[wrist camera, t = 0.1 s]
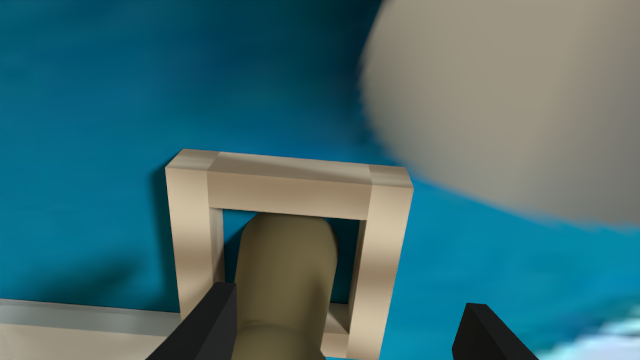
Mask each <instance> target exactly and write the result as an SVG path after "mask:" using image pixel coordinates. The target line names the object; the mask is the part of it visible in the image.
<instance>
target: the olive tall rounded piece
mask: <svg viewBox="0 0 640 360" xmlns="http://www.w3.org/2000/svg"><path fill="white" fill-rule="evenodd" d="M338 256H339V244H338V238H337V236H336V234H335V232H334V230H333V228H332V226H331V225H330V224H329V223H328V222H327V221H325V220H324V219H323V218H322V217H321V216H309V215H297V214H285V213H273V212H260V213H258V214H257V215H256V216H255V217H253V218H252V219H251V220H250V221H249V222H248V223H247V225H246V227H245V229H244V230H243V232H242V235H241V241H240V248H239V255H238V262H237V268H236V275H235V282H234V283H237V335H236V340H235V344H234V349H233V353H232V358H231V360H326V358H325V357H324V355H323V353H322V352H321V350H320V349H321V343H322V338H323V333H324V328H325V323H326V318H327V312H328V307H329V302H330V297H331V292H332V287H333V281H334V276H335V271H336V266H337V261H338Z"/></svg>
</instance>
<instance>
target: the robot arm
mask: <svg viewBox="0 0 640 360" xmlns="http://www.w3.org/2000/svg"><path fill="white" fill-rule="evenodd" d="M236 335H237V283H227V282H216V283H215V284H213V286H212V287H211V288H210V289H209V291H208V292H207V293H206V294H205V296H204V297H203V298H202V299H201V301H200V302H199V303H198V304H197V305H196V307H195V308H194V309H193V310H192V311H191V312H190V314H189V315H188V316H187V317H186V318H185V319H184V320H183V321H182V322H181V323H180V325H179V326H178V327H177V328H176V329H175V330H174V331H173V332H172V333H171V334H170V335H169V336H168V337H167V338H166V339H165V340H164V341H163V342H162V343H161V344H160V345H159V346H158V347H157V348H156V349H155V350H154V351H153V352H152V353H151V354H150V355H149V356H148V357H147V358H146V359H145V360H231V358H232V353H233V349H234V344H235V340H236ZM452 353H453V359H454V360H539V359H538V358H537V357H536V356H535V355H534V354H533V353H532V352H531V351H530V350H529V349H528V348H527V347H526V346H525V345H524V344H523V343H522V342H521V341H520V340H519V338H518V337H517V336H516V335H515V334H514V333H513V332H512V331H511V330H510V329H509V328H508V327H507V326H506V325H505V324H504V322H503V321H502V320H501V319H500V318H499V317H498V316H497V315H496V314H495V313H494V312H493V311H492V310H491V309H490V308H489V307H488V306H487V305H486V304H476V303H466V307H465V310H464V313H463V316H462V319H461V322H460V325H459V328H458V331H457V334H456V337H455V340H454V343H453V347H452Z"/></svg>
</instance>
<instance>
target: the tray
mask: <svg viewBox="0 0 640 360" xmlns="http://www.w3.org/2000/svg"><path fill="white" fill-rule="evenodd" d="M180 323H181V313H172V312H159V311H147V310H135V309H122V308H110V307H98V306H86V305H73V304H61V303H49V302H37V301H24V300H12V299H0V360H145V359H146V358H147V357H148V356H149V355H150V354H151V353H152V352H153V351H154V350H155V349H156V348H157V347H158V346H159V345H160V344H161V343H162V342H163V341H164V340H165V339H166V338H167V337H168V336H169V335H170V334H171V333H172V332H173V331H174V330H175V329H176V328H177V327H178V326H179V325H180Z"/></svg>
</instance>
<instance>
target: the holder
mask: <svg viewBox="0 0 640 360" xmlns="http://www.w3.org/2000/svg"><path fill="white" fill-rule="evenodd" d="M165 172H166V181H167V191H168V200H169V209H170V219H171V228H172V237H173V247H174V256H175V265H176V275H177V284H178V294H179V303H180V312H181V322H182V321H183V320H184V319H185V318H186V317H187V316H188V315H189V314H190V312H191V311H192V310H193V309H194V308H195V307H196V305H197V304H198V303H199V302H200V301H201V299H202V298H203V297H204V296H205V294H206V293H207V292H208V291H209V289H210V288H211V287H212V286H213V284H215V283H216V282H225V263H224V237H223V210H222V208H225V209H237V210H249V211H261V212H273V213H285V214H297V215H309V216H321V217H333V218H345V219H357V220H360V225H359V232H358V239H357V246H356V253H355V259H354V266H353V273H352V280H351V287H350V294H349V301H348V304H339V303H329V307H328V312H327V318H326V323H325V328H324V333H323V338H322V343H321V349H320V350H321V352H322V353H323V355H324V356H326V357H338V358H351V359H363V360H378V359H379V354H380V349H381V344H382V340H383V335H384V330H385V325H386V320H387V315H388V311H389V306H390V301H391V296H392V291H393V287H394V282H395V277H396V272H397V267H398V262H399V258H400V253H401V248H402V243H403V238H404V233H405V229H406V224H407V219H408V214H409V209H410V204H411V200H412V195H413V190H414V188H413V185H412V183H411V180H410V178H409V175H408V173H407V171H406V168H405V167H395V166H383V165H371V164H360V163H348V162H336V161H324V160H312V159H300V158H288V157H276V156H264V155H253V154H241V153H229V152H217V151H205V150H193V149H182V150H181V151H180V153H179V154H178V155H177V156H176V157H175V158H174V159H173V160H172V161H171V162H170V163H169V164H168V165H167V166H166V167H165Z"/></svg>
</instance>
